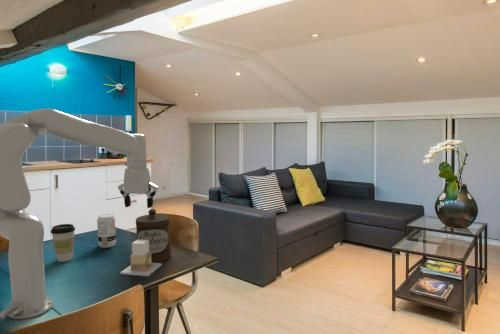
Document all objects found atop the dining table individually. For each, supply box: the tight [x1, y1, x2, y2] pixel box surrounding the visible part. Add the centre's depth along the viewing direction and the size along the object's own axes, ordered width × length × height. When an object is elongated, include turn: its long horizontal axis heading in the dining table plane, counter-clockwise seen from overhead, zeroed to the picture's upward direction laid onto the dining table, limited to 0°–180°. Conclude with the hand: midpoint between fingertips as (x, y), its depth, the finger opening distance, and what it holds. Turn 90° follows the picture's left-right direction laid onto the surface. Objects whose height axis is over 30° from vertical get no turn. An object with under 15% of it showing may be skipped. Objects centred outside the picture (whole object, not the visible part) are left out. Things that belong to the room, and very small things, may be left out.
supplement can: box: [96, 213, 117, 249], centre depth 184 cm, size 8×8×15 cm
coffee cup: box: [50, 223, 76, 262], centre depth 166 cm, size 10×10×15 cm
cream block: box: [131, 238, 149, 256], centre depth 152 cm, size 5×5×5 cm
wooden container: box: [135, 208, 172, 263], centre depth 167 cm, size 15×15×22 cm
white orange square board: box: [120, 262, 163, 277], centre depth 153 cm, size 12×12×1 cm
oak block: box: [129, 251, 153, 271], centre depth 153 cm, size 6×6×6 cm
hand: (138, 206), depth 150 cm, fingers open, 9 cm apart
